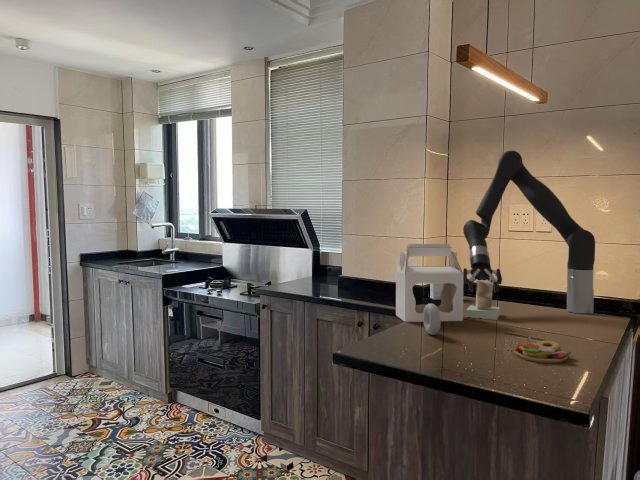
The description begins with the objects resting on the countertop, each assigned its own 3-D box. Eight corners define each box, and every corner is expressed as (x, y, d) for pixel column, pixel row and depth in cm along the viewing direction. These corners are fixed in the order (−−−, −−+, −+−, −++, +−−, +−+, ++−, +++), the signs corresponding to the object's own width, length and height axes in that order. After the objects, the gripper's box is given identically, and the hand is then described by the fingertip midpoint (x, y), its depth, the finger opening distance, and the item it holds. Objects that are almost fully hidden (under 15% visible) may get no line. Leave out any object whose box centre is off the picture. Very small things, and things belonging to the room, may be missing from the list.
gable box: (404, 322, 171) (404, 244, 170) (395, 315, 184) (395, 243, 183) (463, 321, 173) (464, 244, 172) (450, 314, 186) (451, 243, 185)
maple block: (488, 307, 185) (490, 281, 184) (491, 309, 180) (492, 283, 179) (475, 306, 186) (477, 281, 185) (477, 308, 181) (479, 282, 180)
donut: (421, 331, 156) (421, 301, 156) (431, 331, 156) (431, 300, 156) (431, 338, 146) (431, 306, 146) (442, 338, 147) (442, 306, 146)
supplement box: (452, 299, 223) (452, 268, 222) (432, 299, 223) (433, 268, 222) (447, 297, 232) (447, 266, 231) (428, 297, 232) (429, 266, 231)
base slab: (499, 316, 185) (499, 307, 185) (496, 321, 175) (496, 311, 175) (470, 313, 190) (470, 305, 190) (466, 318, 180) (466, 309, 180)
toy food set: (553, 351, 133) (553, 339, 133) (581, 364, 119) (581, 352, 119) (506, 351, 132) (506, 339, 132) (528, 365, 119) (529, 352, 119)
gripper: (462, 252, 191) (465, 284, 180) (499, 253, 188) (505, 285, 177) (460, 265, 196) (463, 296, 185) (496, 265, 194) (502, 297, 183)
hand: (483, 291), depth 181 cm, fingers open, 8 cm apart
